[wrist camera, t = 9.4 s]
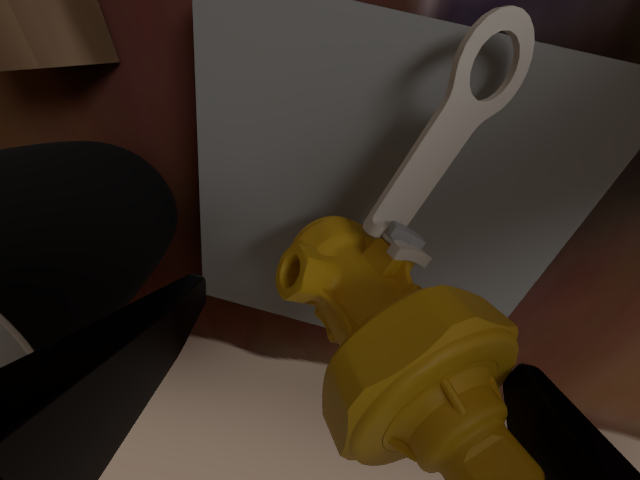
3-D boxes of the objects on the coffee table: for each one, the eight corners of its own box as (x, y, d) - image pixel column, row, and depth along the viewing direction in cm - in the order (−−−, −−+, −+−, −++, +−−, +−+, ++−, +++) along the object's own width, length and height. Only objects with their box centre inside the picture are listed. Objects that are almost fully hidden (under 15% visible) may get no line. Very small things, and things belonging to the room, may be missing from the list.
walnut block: (78, -54, 12) (-35, -89, 9) (119, 62, 14) (40, 68, 11) (-1, -41, 13) (-133, -69, 10) (49, 67, 15) (-45, 74, 12)
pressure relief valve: (235, 271, 13) (344, 625, 5) (400, -44, 9) (1561, -380, 2) (334, 291, 16) (491, 531, 8) (486, 64, 12) (1005, 125, 5)
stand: (643, 71, 11) (696, 77, 9) (460, 335, 20) (468, 367, 18) (222, -24, 12) (191, -37, 10) (220, 270, 20) (203, 293, 18)
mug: (33, 101, 16) (-349, 165, 8) (194, 139, 16) (-27, 250, 7) (89, 273, 23) (-83, 407, 14) (204, 303, 22) (95, 460, 14)
